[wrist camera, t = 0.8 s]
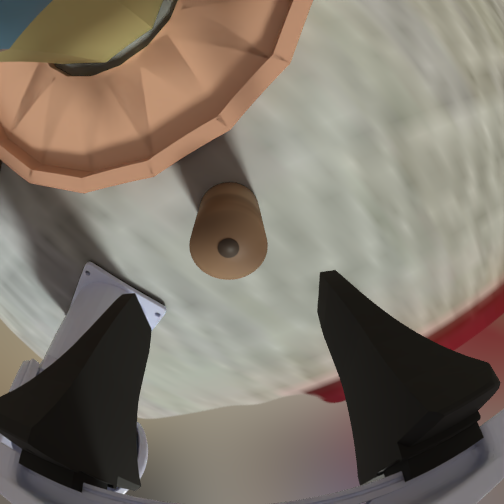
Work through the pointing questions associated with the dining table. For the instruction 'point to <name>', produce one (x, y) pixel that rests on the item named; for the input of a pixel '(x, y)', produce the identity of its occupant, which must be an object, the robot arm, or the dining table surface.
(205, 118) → the dish
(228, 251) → the bead
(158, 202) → the dining table surface
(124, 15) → the jar
